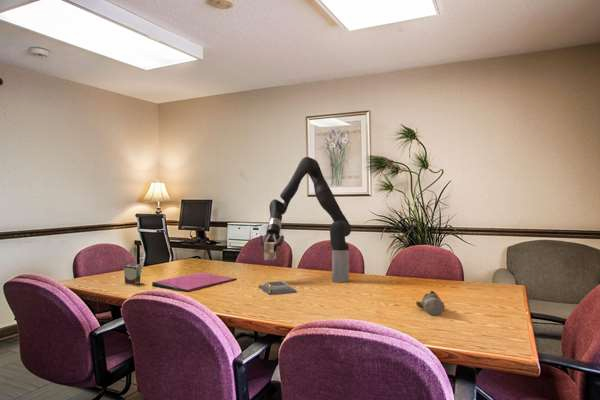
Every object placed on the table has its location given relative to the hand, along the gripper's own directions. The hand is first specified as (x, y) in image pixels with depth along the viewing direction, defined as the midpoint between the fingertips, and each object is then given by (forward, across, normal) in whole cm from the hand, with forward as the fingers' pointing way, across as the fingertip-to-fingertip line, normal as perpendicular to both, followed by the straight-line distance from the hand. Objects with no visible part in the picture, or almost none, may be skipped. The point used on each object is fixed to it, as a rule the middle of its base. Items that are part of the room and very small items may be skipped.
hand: (269, 250), depth 219 cm
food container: (+21, -72, +3) cm, 75 cm away
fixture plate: (+24, +8, 0) cm, 26 cm away
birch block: (+2, 0, +5) cm, 5 cm away
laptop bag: (+19, -41, +6) cm, 45 cm away
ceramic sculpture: (+47, +78, -21) cm, 93 cm away
